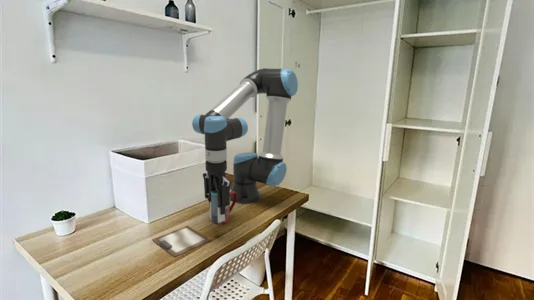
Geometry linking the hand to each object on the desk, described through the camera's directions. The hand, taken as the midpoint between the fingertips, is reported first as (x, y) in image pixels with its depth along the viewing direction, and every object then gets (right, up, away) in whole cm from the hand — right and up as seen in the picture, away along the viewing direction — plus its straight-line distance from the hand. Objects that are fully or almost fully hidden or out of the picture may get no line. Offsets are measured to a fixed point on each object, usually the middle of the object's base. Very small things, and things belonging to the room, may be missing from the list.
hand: (217, 219), depth 110 cm
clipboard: (-13, -7, -2) cm, 15 cm away
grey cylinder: (0, -1, 0) cm, 1 cm away
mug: (0, -4, +15) cm, 16 cm away
